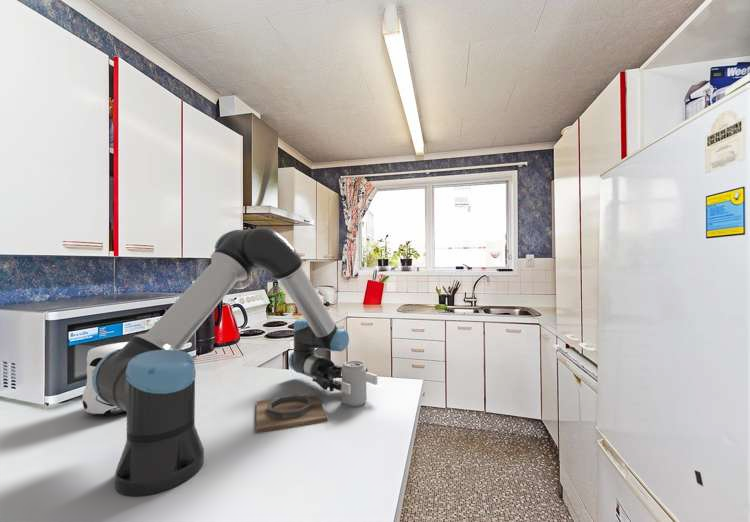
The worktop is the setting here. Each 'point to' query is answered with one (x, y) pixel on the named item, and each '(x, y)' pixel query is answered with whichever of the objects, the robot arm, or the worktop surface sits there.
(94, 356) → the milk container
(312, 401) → the ring board
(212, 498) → the worktop surface
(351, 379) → the can
